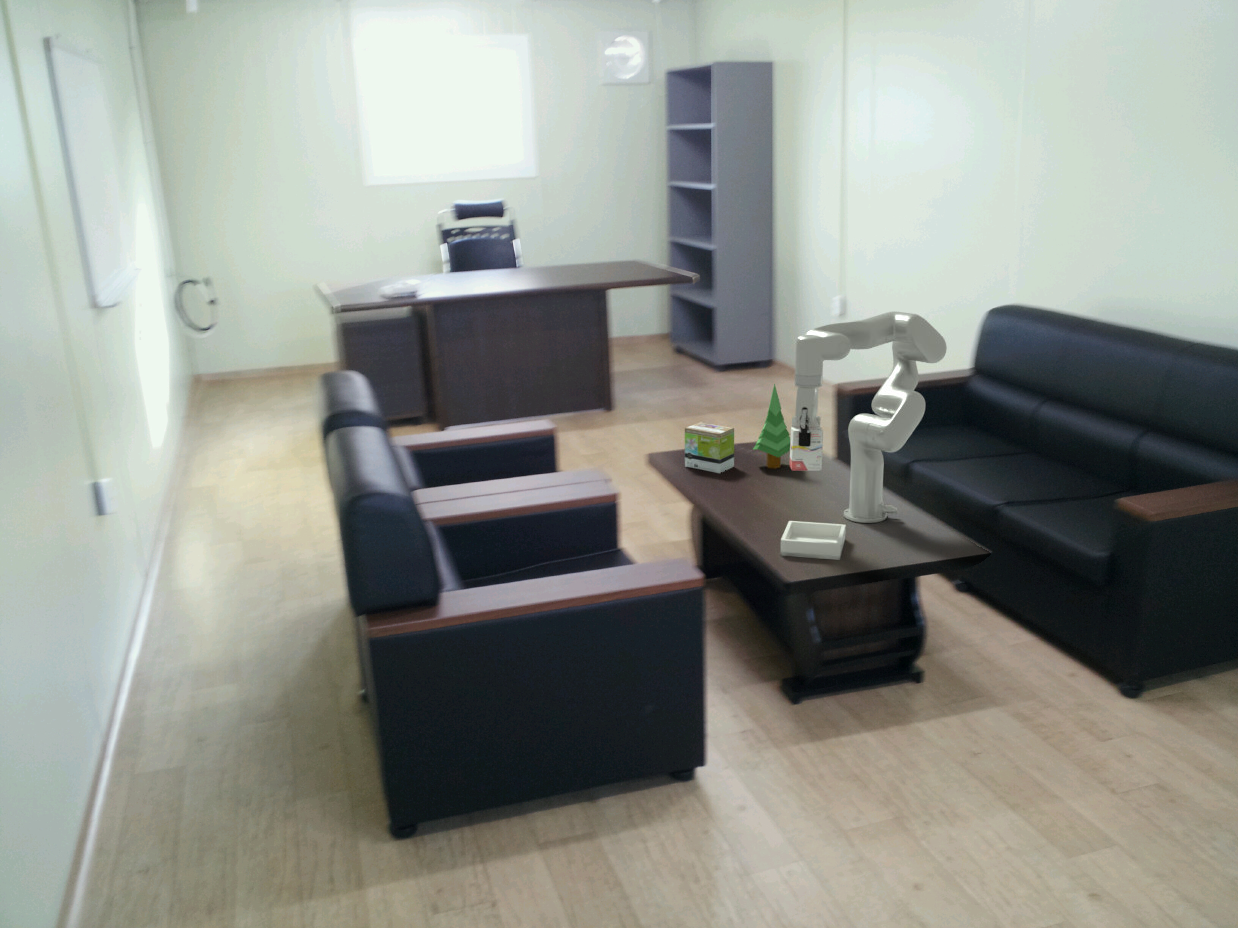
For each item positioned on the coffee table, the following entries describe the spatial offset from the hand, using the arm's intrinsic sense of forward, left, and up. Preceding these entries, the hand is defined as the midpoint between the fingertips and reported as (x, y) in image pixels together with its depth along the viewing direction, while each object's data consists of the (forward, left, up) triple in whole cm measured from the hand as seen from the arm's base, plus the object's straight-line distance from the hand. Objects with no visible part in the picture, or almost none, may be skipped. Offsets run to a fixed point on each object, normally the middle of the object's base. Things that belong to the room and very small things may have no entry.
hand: (806, 442), depth 292 cm
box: (-4, +9, -28) cm, 29 cm away
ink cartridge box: (0, 0, -8) cm, 8 cm away
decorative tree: (+19, -67, -28) cm, 75 cm away
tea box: (+41, -62, -28) cm, 79 cm away
